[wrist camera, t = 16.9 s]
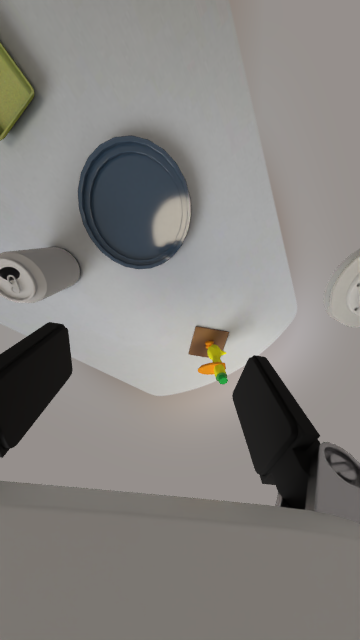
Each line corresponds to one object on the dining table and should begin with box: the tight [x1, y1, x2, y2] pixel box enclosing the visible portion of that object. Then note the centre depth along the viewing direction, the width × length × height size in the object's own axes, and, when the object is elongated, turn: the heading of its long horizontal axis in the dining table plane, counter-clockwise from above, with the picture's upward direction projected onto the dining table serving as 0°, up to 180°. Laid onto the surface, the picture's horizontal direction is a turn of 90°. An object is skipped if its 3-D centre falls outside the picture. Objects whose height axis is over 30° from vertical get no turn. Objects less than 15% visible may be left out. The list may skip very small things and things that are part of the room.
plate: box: [78, 136, 191, 269], centre depth 29 cm, size 18×18×2 cm
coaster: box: [189, 326, 229, 357], centre depth 42 cm, size 8×8×1 cm
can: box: [0, 247, 80, 303], centre depth 29 cm, size 8×8×12 cm
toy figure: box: [198, 341, 228, 384], centre depth 37 cm, size 7×4×12 cm, turn 100°
